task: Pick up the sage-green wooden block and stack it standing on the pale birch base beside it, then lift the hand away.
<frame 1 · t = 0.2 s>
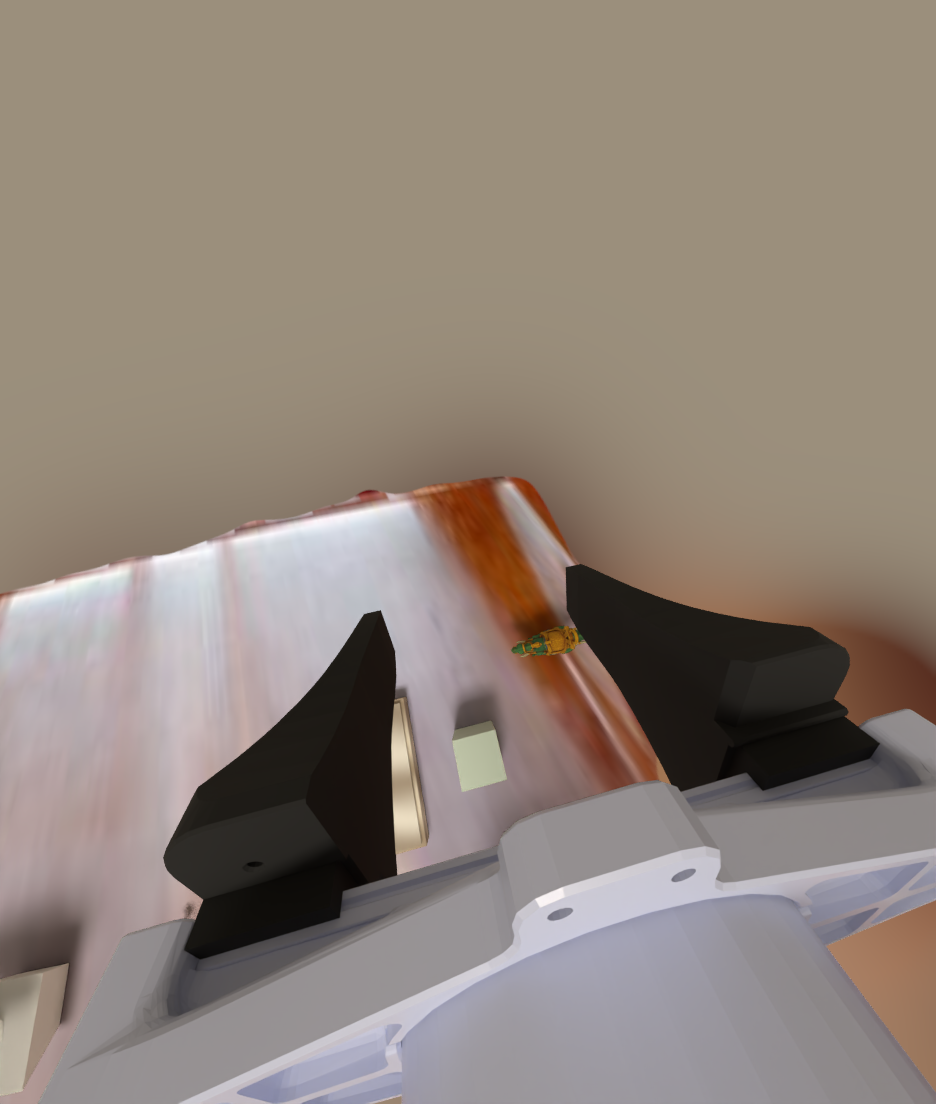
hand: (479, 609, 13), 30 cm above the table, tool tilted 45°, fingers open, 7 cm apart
sage block: (477, 746, 38), on the table
birch base: (363, 776, 37), on the table
figurine: (553, 641, 42), on the table
figurine 2: (42, 996, 32), on the table
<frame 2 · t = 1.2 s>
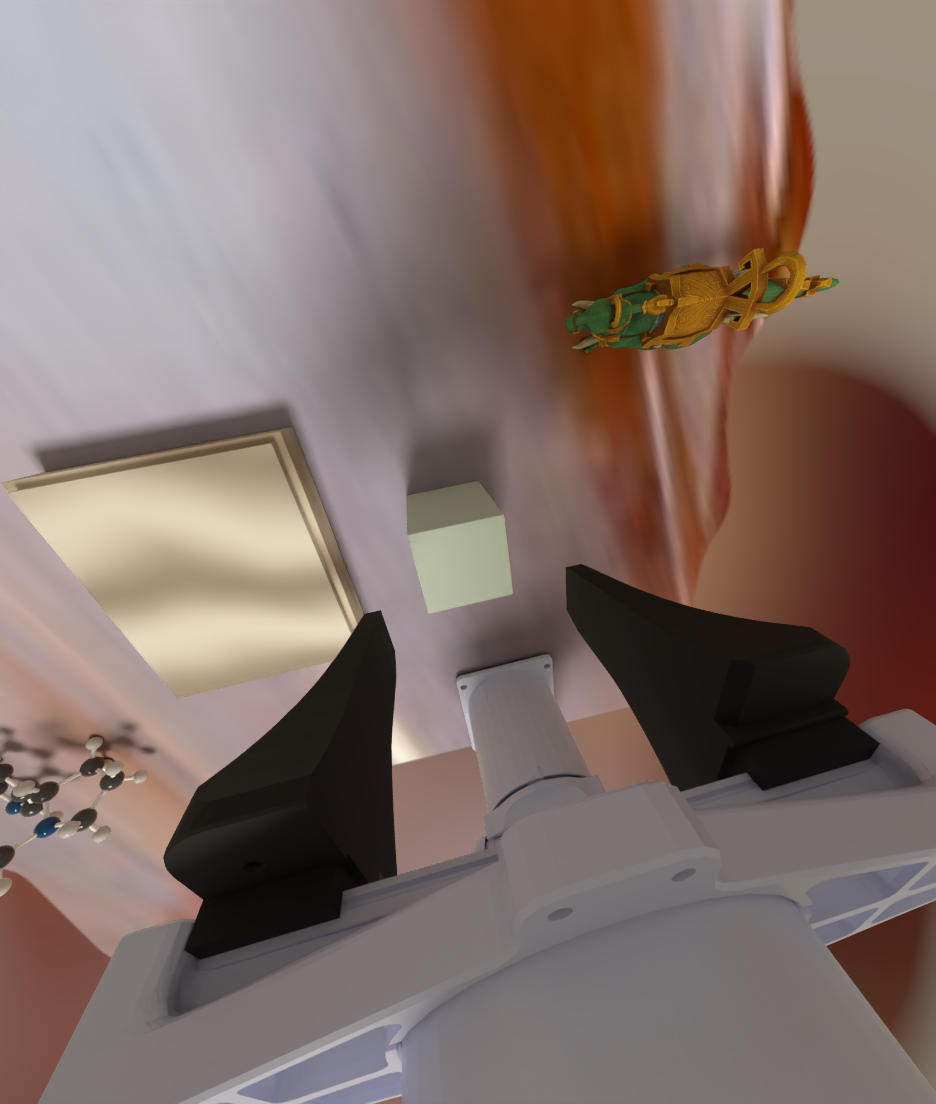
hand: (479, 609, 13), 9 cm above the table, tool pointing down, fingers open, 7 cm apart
sage block: (449, 521, 21), on the table
birch base: (237, 567, 20), on the table
molecule model: (66, 755, 25), on the table
figurine: (635, 321, 18), on the table
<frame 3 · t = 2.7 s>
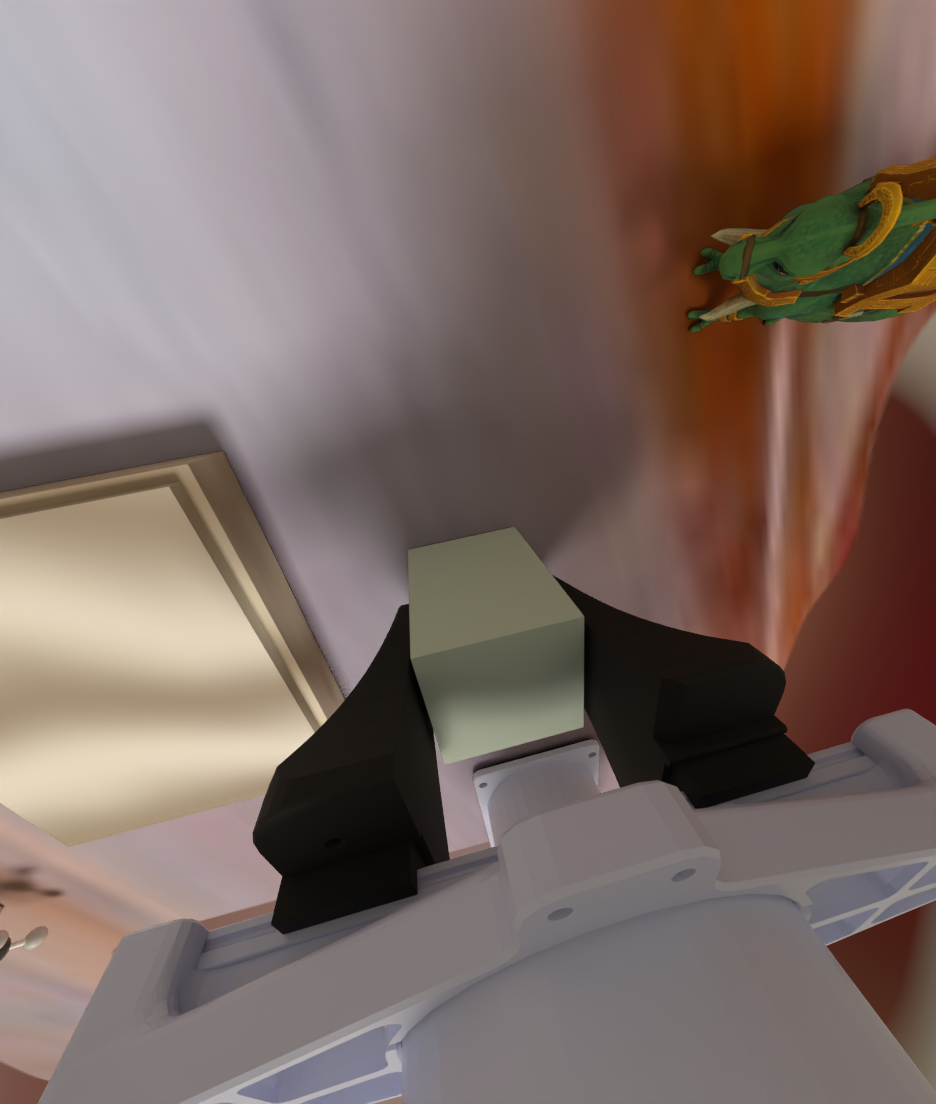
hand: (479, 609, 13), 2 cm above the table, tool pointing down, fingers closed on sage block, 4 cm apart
sage block: (470, 583, 15), on the table, touching gripper
birch base: (155, 655, 14), on the table
figurine: (770, 283, 11), on the table
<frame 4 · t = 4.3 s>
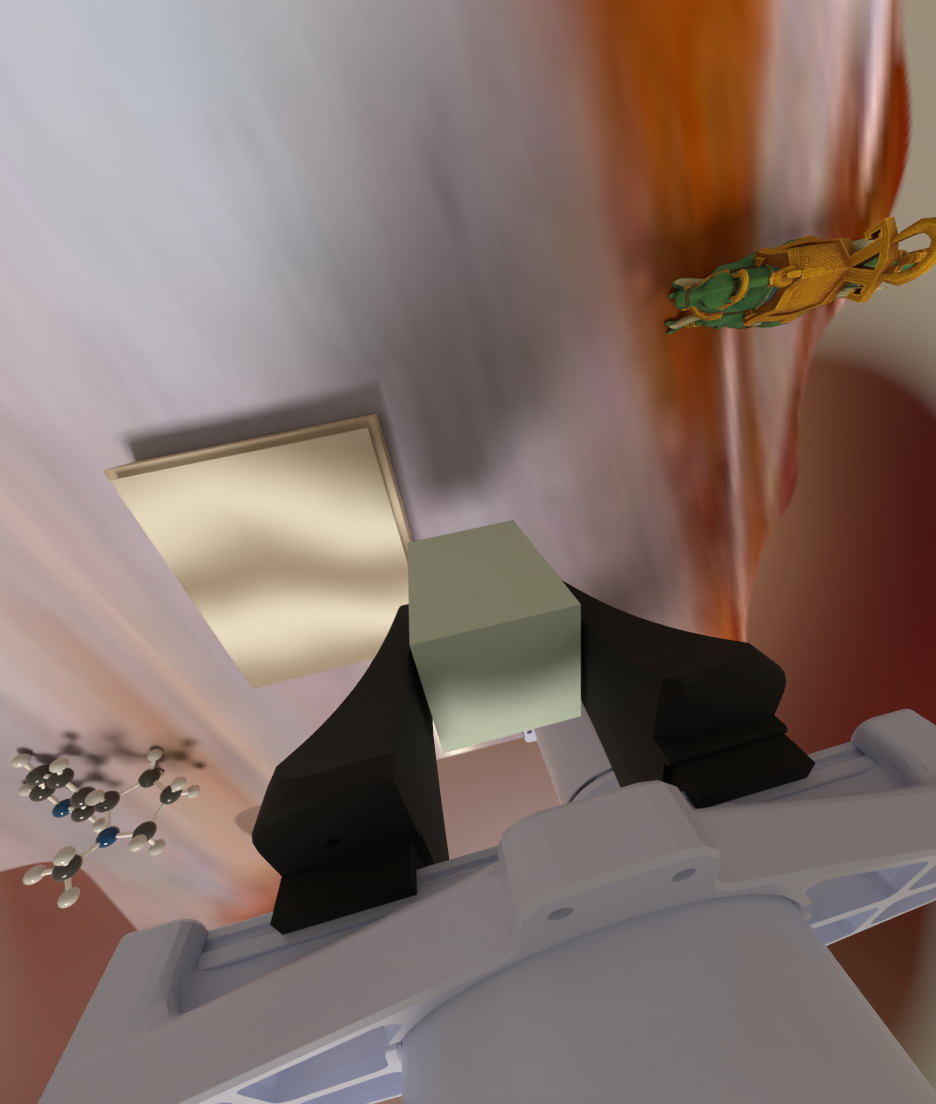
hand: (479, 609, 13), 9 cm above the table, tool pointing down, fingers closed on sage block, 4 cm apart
sage block: (469, 576, 15), point 7 cm above the table, touching gripper
birch base: (312, 556, 20), on the table
molecule model: (119, 762, 25), on the table
figurine: (718, 302, 18), on the table
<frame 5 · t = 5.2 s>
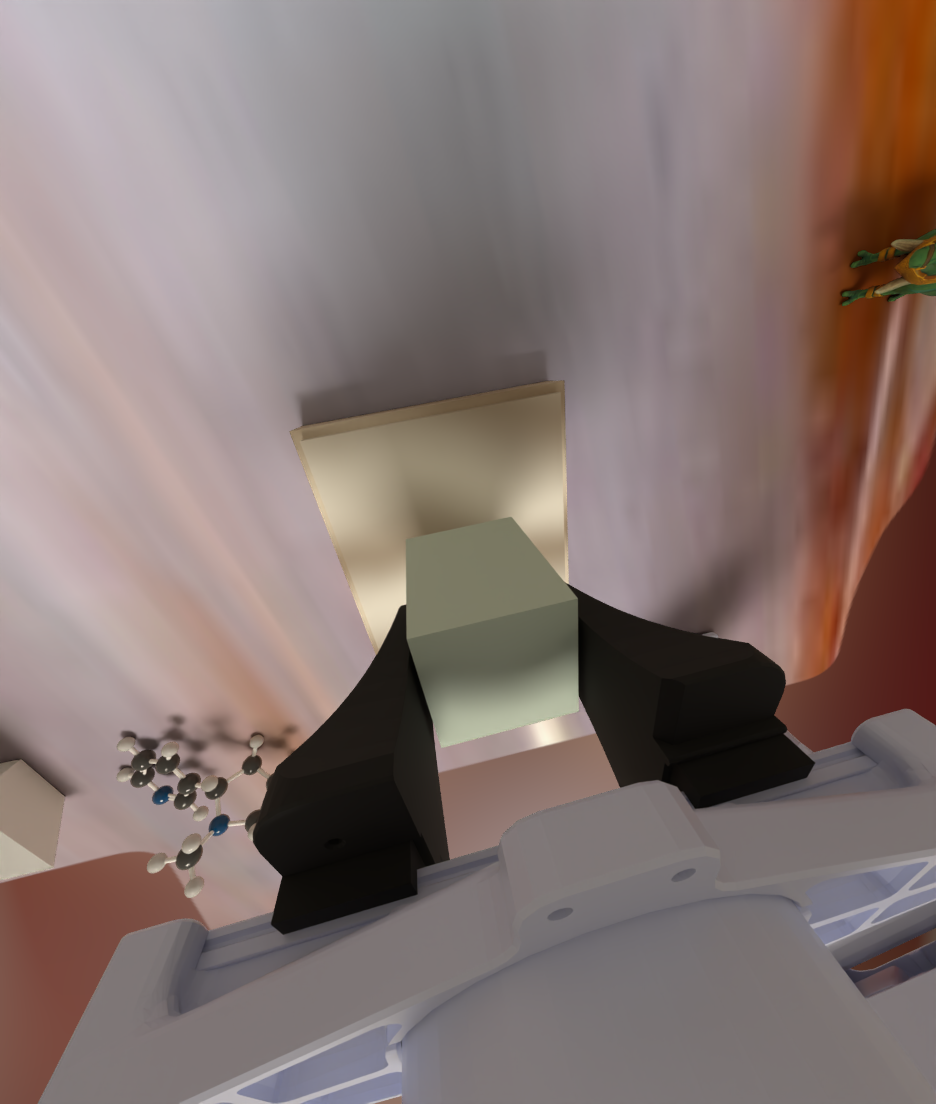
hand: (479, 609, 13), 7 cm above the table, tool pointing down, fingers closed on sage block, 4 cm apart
sage block: (467, 573, 15), point 5 cm above the table, touching gripper
birch base: (453, 533, 19), on the table
molecule model: (217, 748, 24), on the table
figurine: (894, 273, 17), on the table
figurine 2: (10, 783, 22), on the table
when the fingers open (5 cm above the table, at t = 6.1 s): sage block stays where it is, resting on birch base.
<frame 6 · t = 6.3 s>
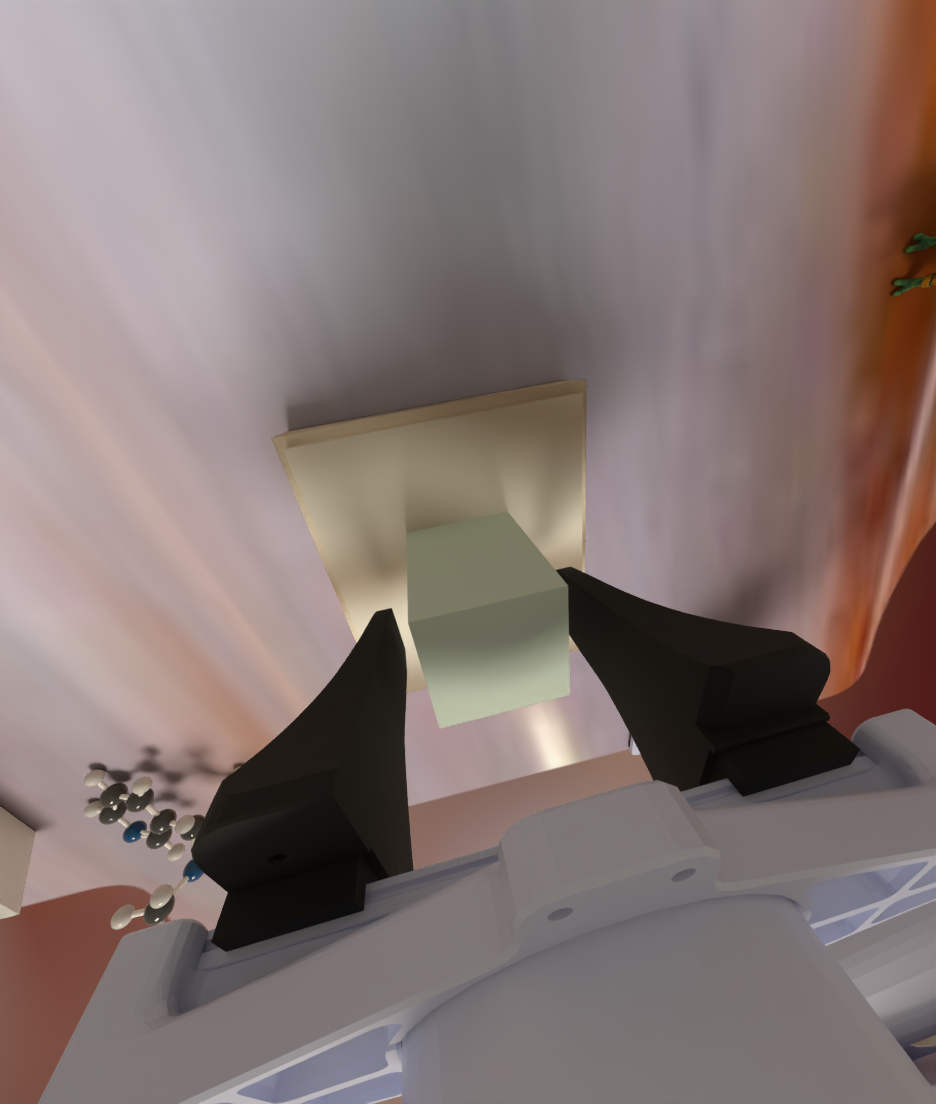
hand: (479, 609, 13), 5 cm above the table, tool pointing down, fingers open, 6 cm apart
sage block: (465, 566, 15), point 2 cm above the table, touching birch base
birch base: (458, 548, 18), on the table
molecule model: (196, 780, 22), on the table
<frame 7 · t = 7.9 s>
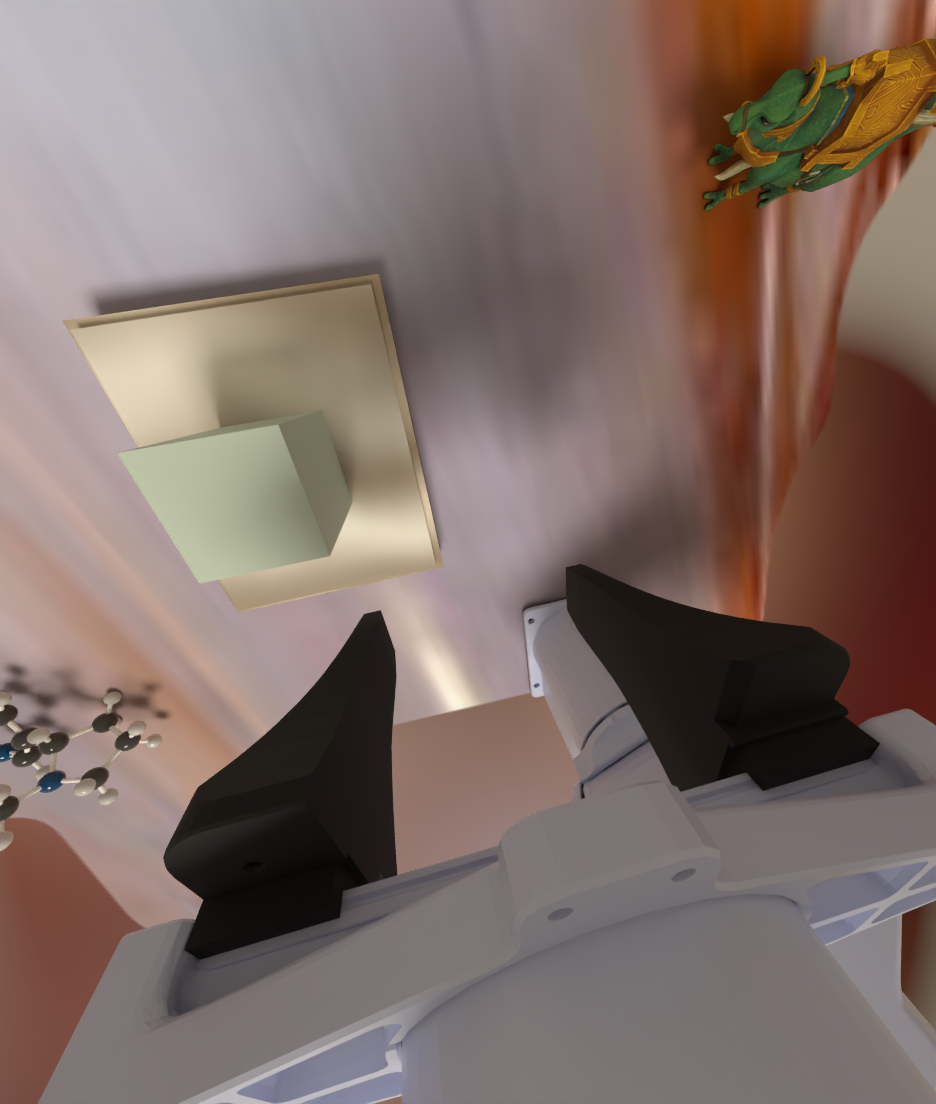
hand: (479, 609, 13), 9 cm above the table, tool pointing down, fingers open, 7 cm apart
sage block: (291, 467, 16), point 2 cm above the table, touching birch base
birch base: (306, 463, 18), on the table
molecule model: (72, 706, 23), on the table
figurine: (762, 175, 16), on the table
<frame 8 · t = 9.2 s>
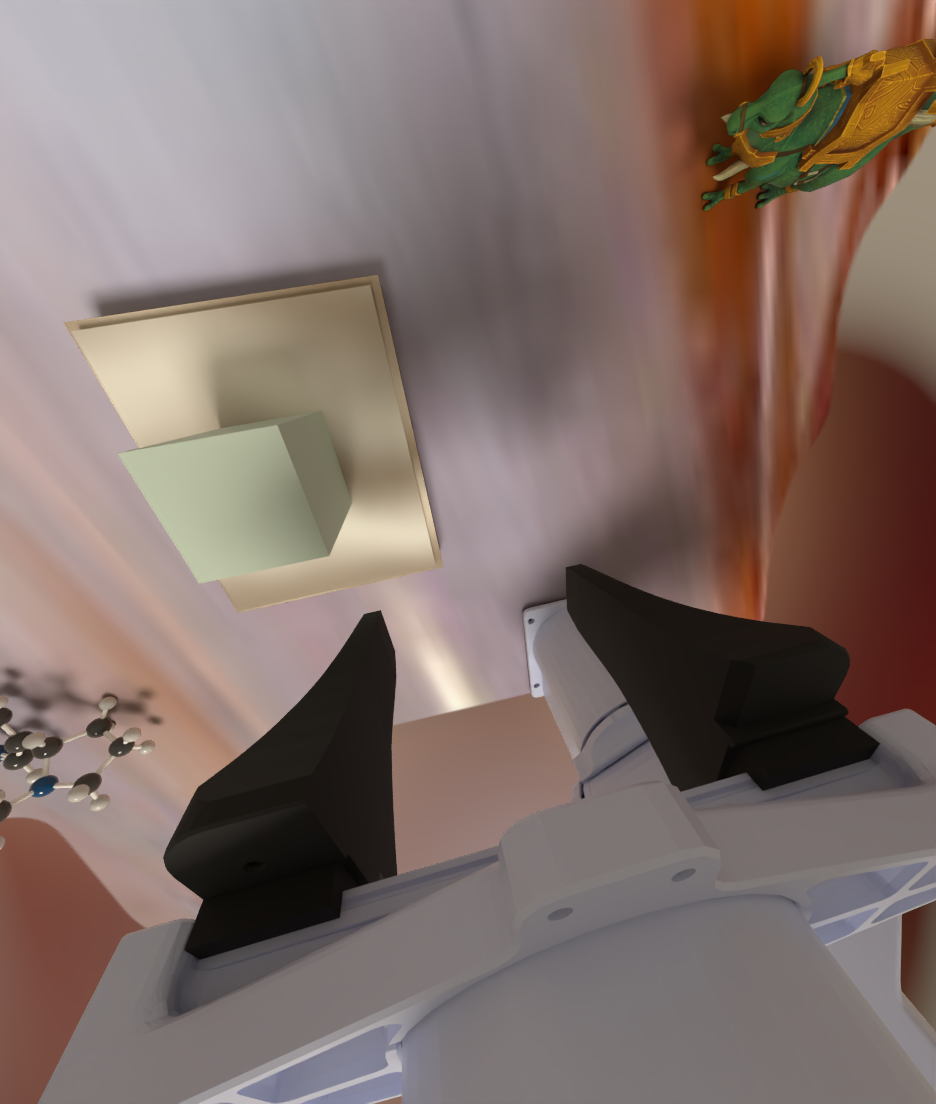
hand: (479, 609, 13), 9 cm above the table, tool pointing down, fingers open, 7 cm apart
sage block: (291, 468, 16), point 2 cm above the table, touching birch base
birch base: (306, 463, 18), on the table
molecule model: (66, 709, 23), on the table
figurine: (760, 176, 16), on the table
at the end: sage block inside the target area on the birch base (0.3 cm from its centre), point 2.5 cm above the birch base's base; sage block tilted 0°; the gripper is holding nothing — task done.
